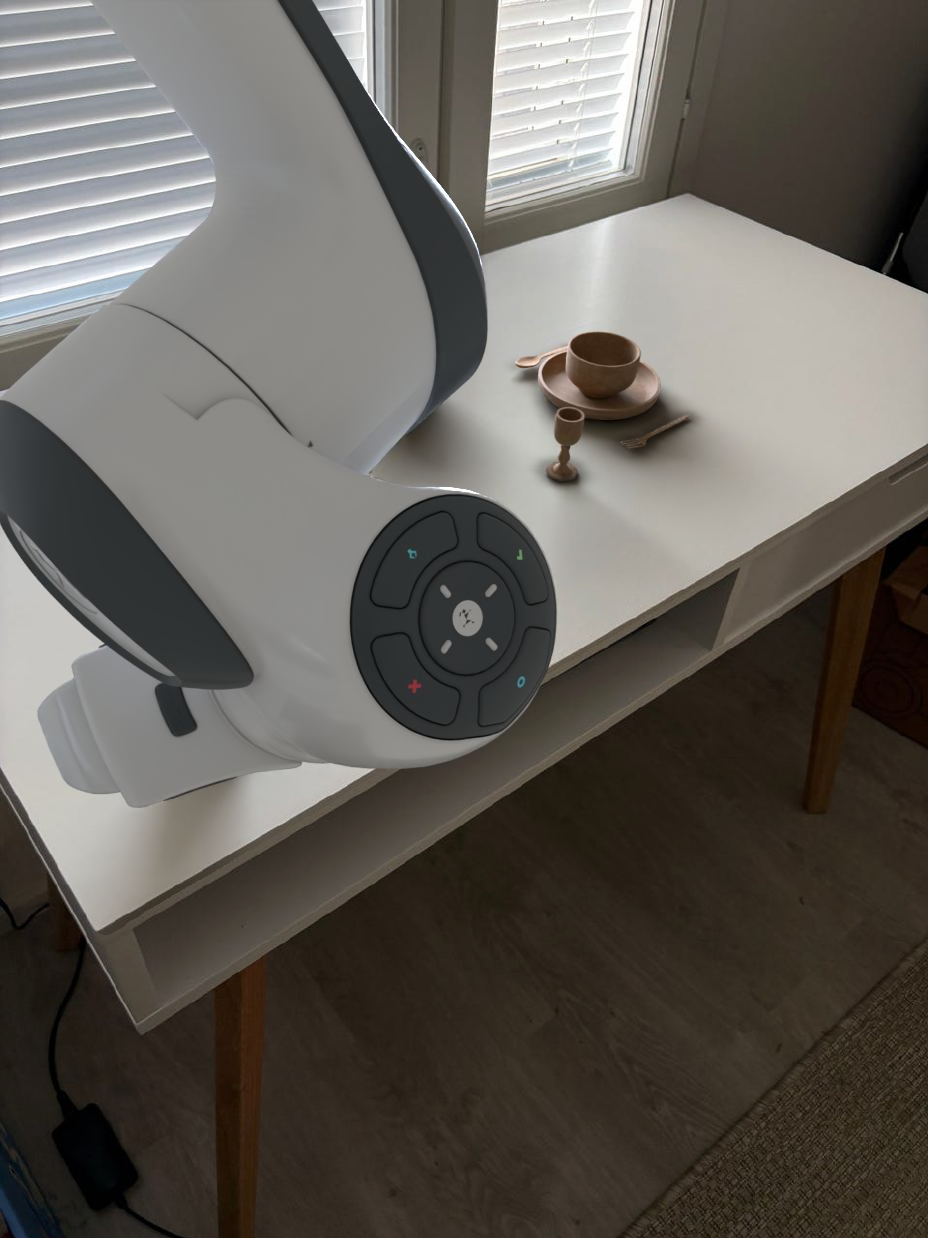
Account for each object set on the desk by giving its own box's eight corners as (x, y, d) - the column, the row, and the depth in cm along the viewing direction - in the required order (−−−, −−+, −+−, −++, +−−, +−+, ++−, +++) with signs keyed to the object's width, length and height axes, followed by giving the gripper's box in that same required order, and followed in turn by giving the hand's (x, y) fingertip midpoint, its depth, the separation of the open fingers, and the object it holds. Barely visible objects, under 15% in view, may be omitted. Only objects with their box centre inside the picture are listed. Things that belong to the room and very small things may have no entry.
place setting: (707, 412, 97) (721, 356, 93) (567, 488, 87) (576, 430, 83) (573, 341, 106) (581, 288, 102) (432, 403, 96) (434, 346, 92)
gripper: (482, 509, 46) (376, 555, 59) (30, 673, 38) (18, 687, 50) (530, 637, 47) (415, 656, 59) (94, 829, 38) (66, 804, 50)
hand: (230, 671), depth 55 cm, fingers open, 8 cm apart
